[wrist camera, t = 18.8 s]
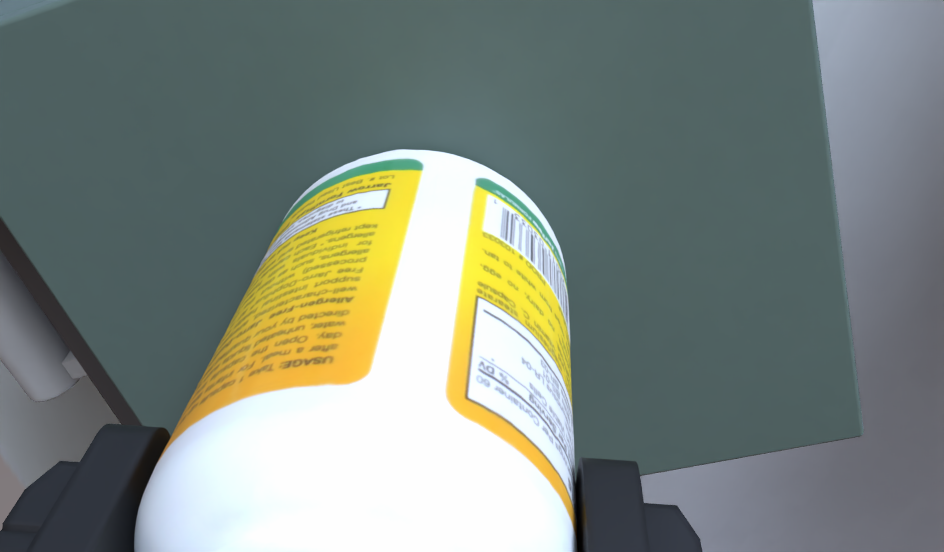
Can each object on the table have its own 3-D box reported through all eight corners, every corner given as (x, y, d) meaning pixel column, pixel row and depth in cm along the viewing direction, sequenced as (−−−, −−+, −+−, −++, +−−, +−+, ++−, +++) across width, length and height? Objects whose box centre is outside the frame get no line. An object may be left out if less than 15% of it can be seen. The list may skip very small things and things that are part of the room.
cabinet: (312, 318, 29) (225, 551, 21) (118, -65, 23) (-111, 59, 15) (764, 211, 26) (865, 437, 18) (683, -268, 20) (783, -252, 12)
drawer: (150, 355, 29) (37, 541, 23) (-60, 29, 24) (-290, 152, 17) (685, 227, 25) (737, 408, 19) (591, -200, 20) (616, -155, 13)
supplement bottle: (607, 186, 15) (691, 730, 7) (516, 411, 18) (502, 981, 10) (299, 101, 15) (10, 581, 7) (256, 347, 17) (18, 891, 9)
